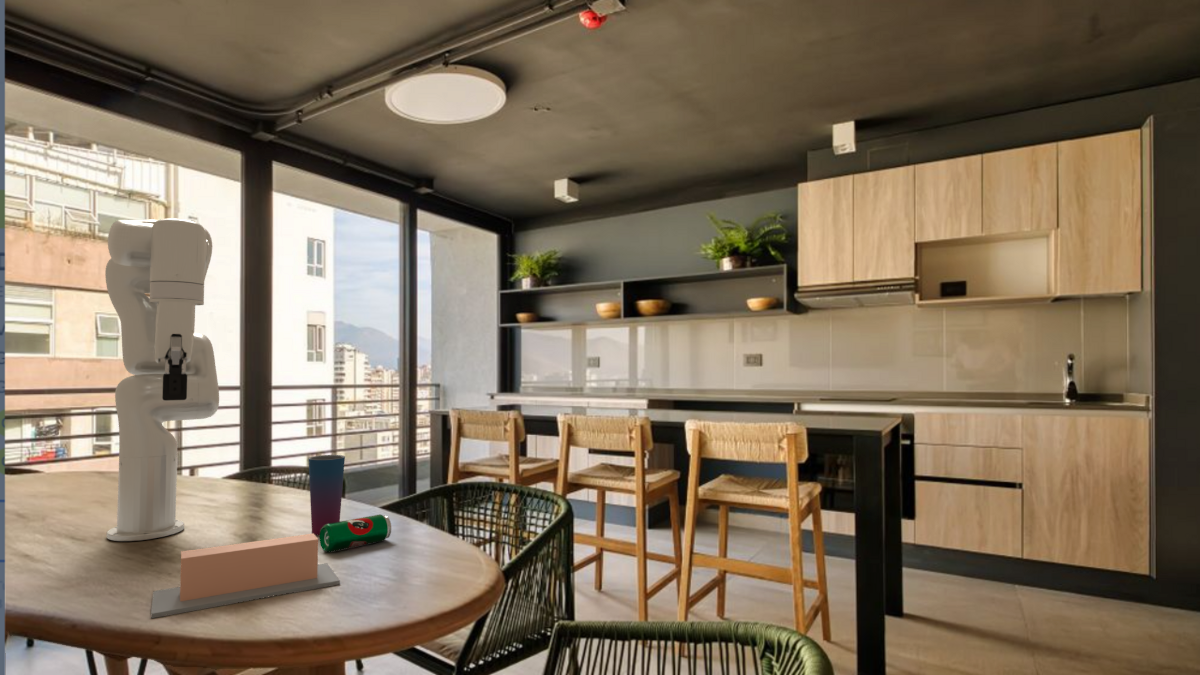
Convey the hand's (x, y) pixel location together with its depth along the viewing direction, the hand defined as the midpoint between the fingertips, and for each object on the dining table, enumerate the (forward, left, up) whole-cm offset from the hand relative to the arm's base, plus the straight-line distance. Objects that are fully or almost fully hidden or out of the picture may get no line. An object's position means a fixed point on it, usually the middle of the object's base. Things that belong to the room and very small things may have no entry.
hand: (174, 398), depth 106 cm
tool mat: (+16, +10, -28) cm, 34 cm away
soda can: (+3, +23, -26) cm, 34 cm away
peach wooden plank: (+16, +10, -28) cm, 34 cm away
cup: (-12, +26, -28) cm, 40 cm away
